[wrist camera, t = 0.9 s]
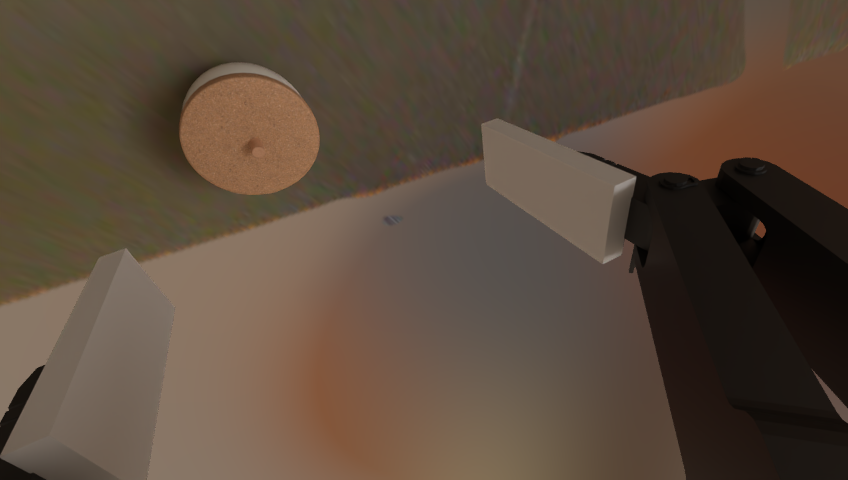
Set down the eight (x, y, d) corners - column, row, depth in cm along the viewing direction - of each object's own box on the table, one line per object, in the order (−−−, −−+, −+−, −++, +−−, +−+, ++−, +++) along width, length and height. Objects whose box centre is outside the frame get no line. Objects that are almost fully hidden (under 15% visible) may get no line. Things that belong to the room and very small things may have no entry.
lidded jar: (229, 15, 31) (242, 52, 25) (323, 101, 39) (349, 145, 33) (151, 107, 33) (146, 162, 27) (256, 171, 41) (270, 224, 35)
